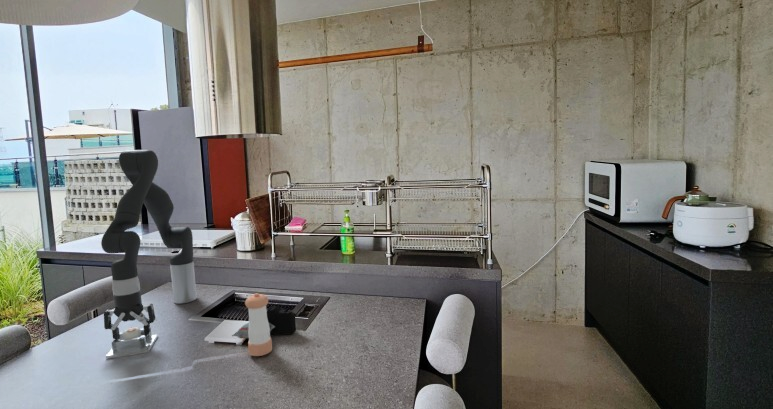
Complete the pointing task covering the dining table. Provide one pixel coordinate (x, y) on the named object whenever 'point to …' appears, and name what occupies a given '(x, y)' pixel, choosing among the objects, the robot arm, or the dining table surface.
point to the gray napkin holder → (132, 345)
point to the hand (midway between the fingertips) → (132, 337)
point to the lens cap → (131, 333)
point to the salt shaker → (258, 325)
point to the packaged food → (244, 331)
